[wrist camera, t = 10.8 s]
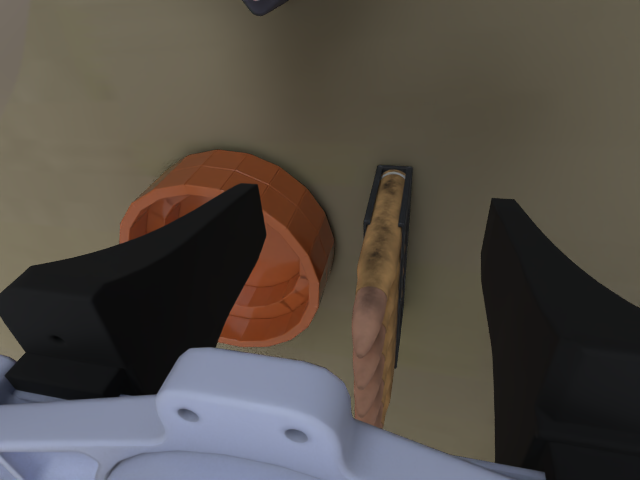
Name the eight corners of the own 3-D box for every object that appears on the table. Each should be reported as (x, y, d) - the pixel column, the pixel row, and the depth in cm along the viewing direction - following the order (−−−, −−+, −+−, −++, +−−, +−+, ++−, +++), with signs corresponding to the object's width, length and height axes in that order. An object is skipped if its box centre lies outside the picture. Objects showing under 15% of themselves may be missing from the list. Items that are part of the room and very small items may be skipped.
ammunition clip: (403, 309, 30) (382, 495, 20) (375, 306, 30) (342, 487, 21) (412, 165, 23) (388, 342, 14) (377, 164, 24) (331, 334, 14)
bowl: (371, 268, 28) (359, 320, 25) (238, 315, 34) (213, 363, 31) (255, 108, 23) (221, 145, 20) (124, 196, 29) (80, 236, 26)
